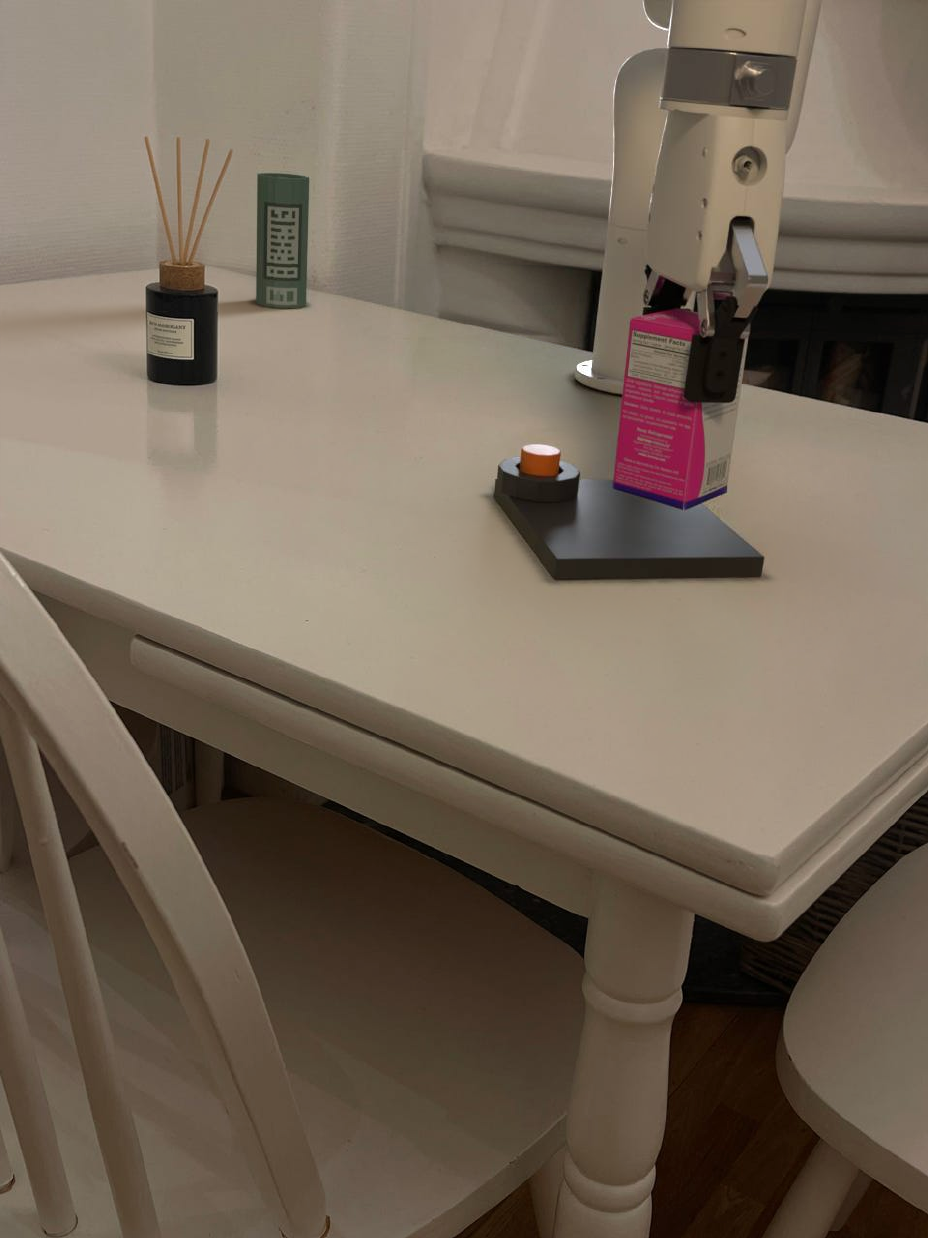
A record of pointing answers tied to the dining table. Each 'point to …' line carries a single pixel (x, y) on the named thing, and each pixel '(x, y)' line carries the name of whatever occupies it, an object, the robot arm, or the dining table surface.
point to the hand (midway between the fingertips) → (683, 382)
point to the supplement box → (670, 418)
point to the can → (282, 240)
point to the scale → (617, 530)
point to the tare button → (540, 460)
